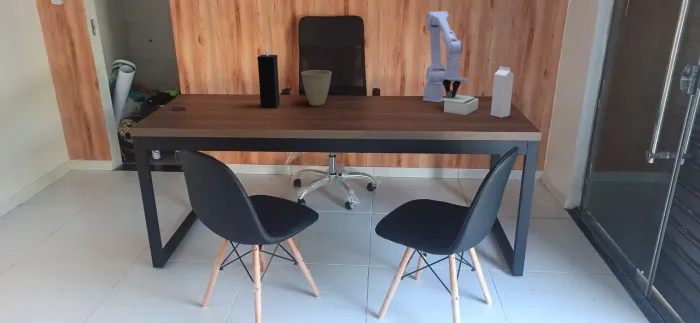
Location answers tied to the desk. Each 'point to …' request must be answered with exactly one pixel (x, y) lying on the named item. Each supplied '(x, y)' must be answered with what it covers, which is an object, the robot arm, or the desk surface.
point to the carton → (461, 107)
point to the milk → (502, 92)
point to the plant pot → (316, 85)
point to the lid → (456, 98)
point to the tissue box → (268, 80)
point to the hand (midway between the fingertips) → (450, 96)
